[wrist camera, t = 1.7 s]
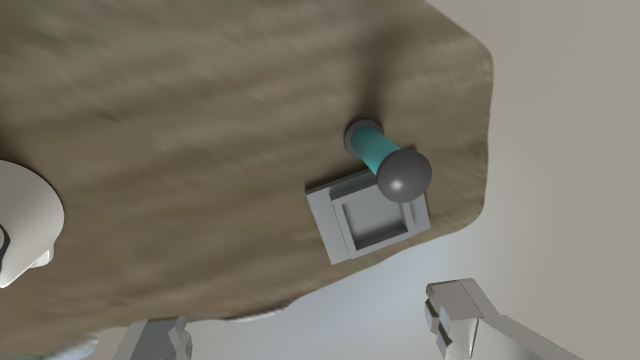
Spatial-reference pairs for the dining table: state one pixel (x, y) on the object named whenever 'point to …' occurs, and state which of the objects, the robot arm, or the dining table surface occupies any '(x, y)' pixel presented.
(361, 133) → the teal and grey rod
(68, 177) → the dining table surface
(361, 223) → the board
